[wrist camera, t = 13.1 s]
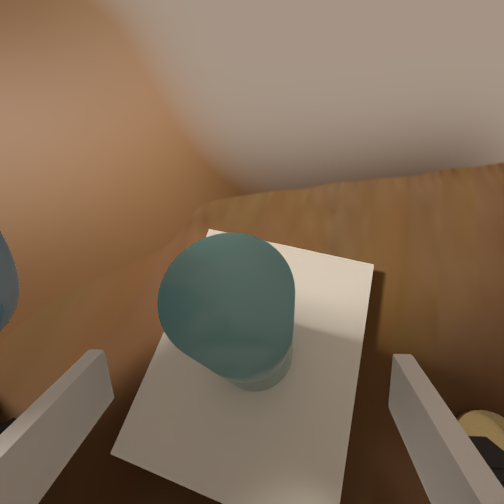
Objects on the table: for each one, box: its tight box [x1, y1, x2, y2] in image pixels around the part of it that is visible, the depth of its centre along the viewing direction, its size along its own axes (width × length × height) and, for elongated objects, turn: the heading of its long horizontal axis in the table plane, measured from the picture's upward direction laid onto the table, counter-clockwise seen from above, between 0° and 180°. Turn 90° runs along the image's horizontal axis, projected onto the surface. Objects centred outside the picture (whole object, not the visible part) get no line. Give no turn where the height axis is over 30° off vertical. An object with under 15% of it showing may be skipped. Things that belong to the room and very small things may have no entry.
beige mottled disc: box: [456, 410, 504, 451], centre depth 21 cm, size 4×4×1 cm
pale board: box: [110, 229, 374, 504], centre depth 25 cm, size 16×20×1 cm
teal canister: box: [158, 233, 295, 392], centre depth 19 cm, size 6×6×13 cm
